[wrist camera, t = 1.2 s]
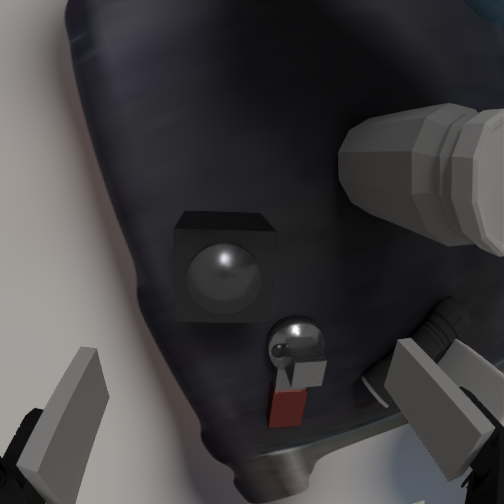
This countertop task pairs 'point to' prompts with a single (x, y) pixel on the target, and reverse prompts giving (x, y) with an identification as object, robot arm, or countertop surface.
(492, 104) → the countertop surface
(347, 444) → the countertop surface
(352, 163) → the jar
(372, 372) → the flashlight
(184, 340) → the countertop surface
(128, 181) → the countertop surface
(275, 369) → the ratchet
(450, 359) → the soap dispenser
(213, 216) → the speaker cube
